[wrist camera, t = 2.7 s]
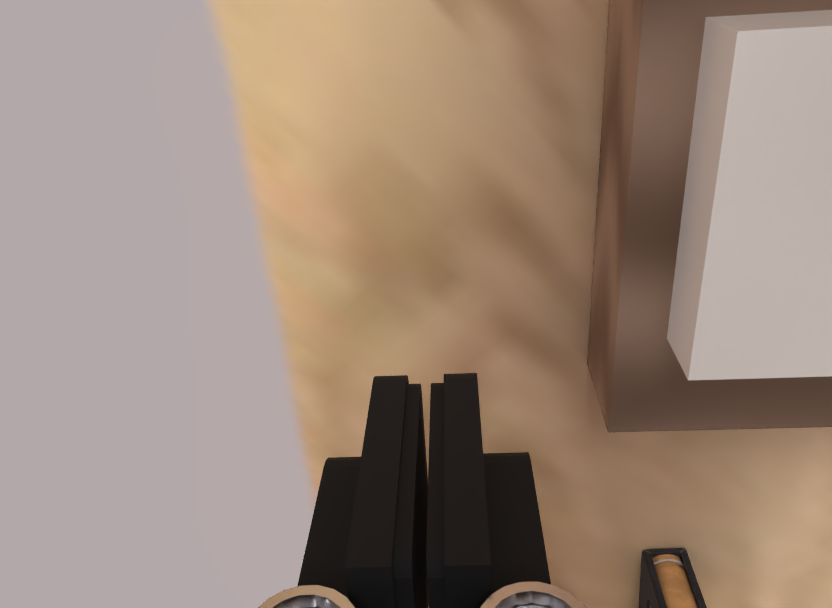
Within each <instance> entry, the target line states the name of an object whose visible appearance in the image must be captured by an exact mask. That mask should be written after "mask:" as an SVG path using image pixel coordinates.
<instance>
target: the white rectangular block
mask: <svg viewBox="0 0 832 608" xmlns="http://www.w3.org/2000/svg"><path fill="white" fill-rule="evenodd" d="M667 340H668V342H669V344H670V346H671V348H672V350H673V352H674V354H675V356H676V358H677V360H678V361H679V363H680V365H681V367H682V369H683V371H684V373H685V375H686V377H687V379H688V380H723V379H758V378H793V377H828V376H832V10H818V11H801V12H784V13H767V14H750V15H733V16H717V17H706V18H705V27H704V35H703V43H702V51H701V60H700V68H699V76H698V84H697V93H696V101H695V109H694V117H693V126H692V134H691V142H690V150H689V159H688V167H687V175H686V183H685V192H684V200H683V208H682V216H681V225H680V233H679V241H678V250H677V258H676V266H675V274H674V283H673V291H672V299H671V307H670V316H669V324H668V332H667Z"/></svg>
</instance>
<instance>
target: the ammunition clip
mask: <svg viewBox="0 0 832 608" xmlns="http://www.w3.org/2000/svg"><path fill="white" fill-rule="evenodd" d="M639 608H707V607H706V605H705V602H704V599H703V596H702V593H701V591H700V588H699V585H698V582H697V579H696V576H695V574H694V571H693V568H692V565H691V562H690V560H689V557H688V554H687V551H686V549H665V550H645V551H643V552H642V561H641V577H640V593H639Z"/></svg>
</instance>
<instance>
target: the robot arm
mask: <svg viewBox="0 0 832 608" xmlns="http://www.w3.org/2000/svg"><path fill="white" fill-rule="evenodd" d="M258 608H586V606H585V605H583V604H582V603H581V602H580V601H579V600H578V599H577V598H576V597H575V596H574V595H573V594H571V593H569V592H567V591H565V590H563V589H561V588H559V587H557V586H555V585H551V582H550V576H549V570H548V564H547V558H546V552H545V545H544V539H543V533H542V527H541V521H540V515H539V509H538V503H537V496H536V490H535V484H534V478H533V472H532V466H531V460H530V455H529V453H528V452H525V453H488V454H483V448H482V435H481V421H480V408H479V394H478V381H477V373H464V374H444V383H431V400H430V436H429V472H428V477H427V463H426V448H425V434H424V419H423V405H422V391H421V384H409V381H408V376H407V375H404V376H375V377H374V379H373V385H372V392H371V398H370V405H369V411H368V418H367V424H366V430H365V437H364V443H363V450H362V456H361V457H338V458H328V459H327V460H326V462H325V465H324V469H323V473H322V478H321V482H320V487H319V491H318V496H317V501H316V505H315V510H314V514H313V519H312V523H311V528H310V532H309V537H308V541H307V546H306V550H305V555H304V559H303V564H302V568H301V573H300V577H299V582H298V586H297V587H295V588H290V589H287V590H283V591H282V592H280V593H278V594H276V595H274V596H273V597H271V598H269V599H267V600H266V601H265V602H264V603H263V604H262V605H261V606H260V607H258Z"/></svg>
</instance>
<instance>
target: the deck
mask: <svg viewBox="0 0 832 608" xmlns="http://www.w3.org/2000/svg"><path fill="white" fill-rule="evenodd" d="M818 10H832V0H610V1H609V18H608V34H607V50H606V67H605V83H604V99H603V116H602V132H601V149H600V165H599V181H598V198H597V214H596V230H595V247H594V263H593V280H592V296H591V312H590V329H589V345H588V362H587V364H588V367H589V371H590V374H591V377H592V381H593V384H594V387H595V390H596V394H597V397H598V400H599V404H600V407H601V410H602V414H603V417H604V420H605V423H606V427H607V430H608V432H639V431H680V430H722V429H763V428H804V427H832V376H828V377H793V378H758V379H723V380H688V379H687V377H686V375H685V373H684V371H683V369H682V367H681V365H680V363H679V361H678V360H677V358H676V356H675V354H674V352H673V350H672V348H671V346H670V344H669V342H668V340H667V332H668V324H669V316H670V307H671V299H672V291H673V283H674V274H675V266H676V258H677V250H678V241H679V233H680V225H681V216H682V208H683V200H684V192H685V183H686V175H687V167H688V159H689V150H690V142H691V134H692V126H693V117H694V109H695V101H696V93H697V84H698V76H699V68H700V60H701V51H702V43H703V35H704V27H705V18H706V17H717V16H733V15H750V14H767V13H784V12H801V11H818Z"/></svg>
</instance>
